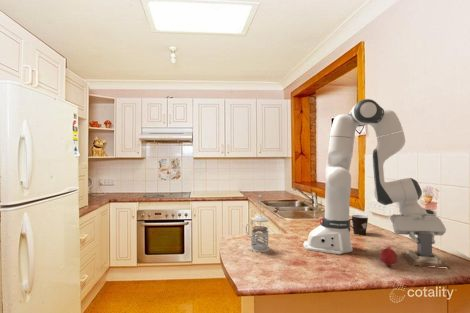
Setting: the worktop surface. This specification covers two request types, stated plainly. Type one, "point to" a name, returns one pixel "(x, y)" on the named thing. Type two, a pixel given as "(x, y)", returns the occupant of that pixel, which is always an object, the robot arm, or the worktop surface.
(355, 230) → the coffee mug
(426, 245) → the plug
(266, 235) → the french press
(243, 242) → the worktop surface
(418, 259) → the socket board
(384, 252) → the onion
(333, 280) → the worktop surface
